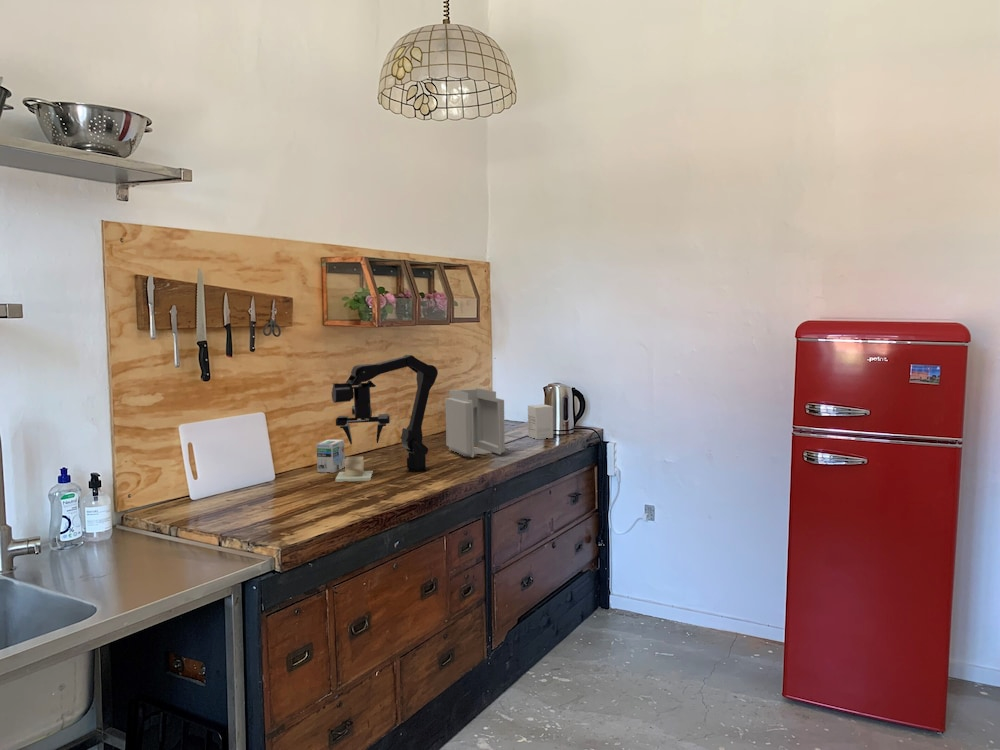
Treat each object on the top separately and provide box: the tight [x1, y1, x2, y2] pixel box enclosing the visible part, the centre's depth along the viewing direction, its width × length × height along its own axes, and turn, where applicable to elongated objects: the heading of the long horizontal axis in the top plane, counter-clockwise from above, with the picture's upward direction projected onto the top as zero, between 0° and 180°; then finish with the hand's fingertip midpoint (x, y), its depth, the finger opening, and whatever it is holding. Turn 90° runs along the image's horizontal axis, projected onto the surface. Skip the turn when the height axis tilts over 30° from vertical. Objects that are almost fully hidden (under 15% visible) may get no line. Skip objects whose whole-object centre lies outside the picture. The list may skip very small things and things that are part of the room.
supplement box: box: [527, 404, 554, 440], centre depth 340 cm, size 9×9×15 cm
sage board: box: [334, 470, 374, 483], centre depth 261 cm, size 12×12×1 cm
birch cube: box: [344, 455, 365, 477], centre depth 260 cm, size 6×6×6 cm
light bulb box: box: [316, 438, 346, 474], centre depth 274 cm, size 11×7×11 cm, turn 168°
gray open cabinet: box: [445, 387, 506, 458], centre depth 304 cm, size 17×27×26 cm, turn 26°
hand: (364, 443), depth 263 cm, fingers open, 9 cm apart
